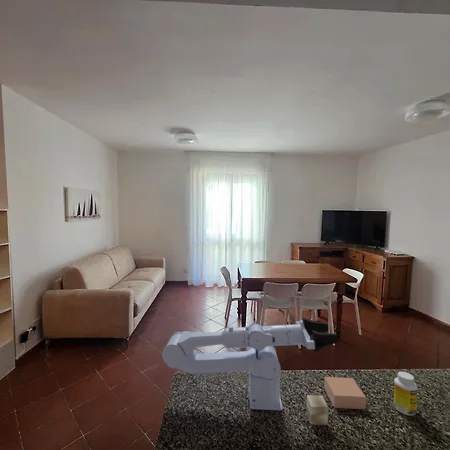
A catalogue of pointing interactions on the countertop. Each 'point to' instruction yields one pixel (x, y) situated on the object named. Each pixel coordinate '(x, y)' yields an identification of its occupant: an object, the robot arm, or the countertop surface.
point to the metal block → (317, 410)
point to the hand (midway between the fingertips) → (332, 332)
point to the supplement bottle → (405, 394)
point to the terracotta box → (344, 393)
